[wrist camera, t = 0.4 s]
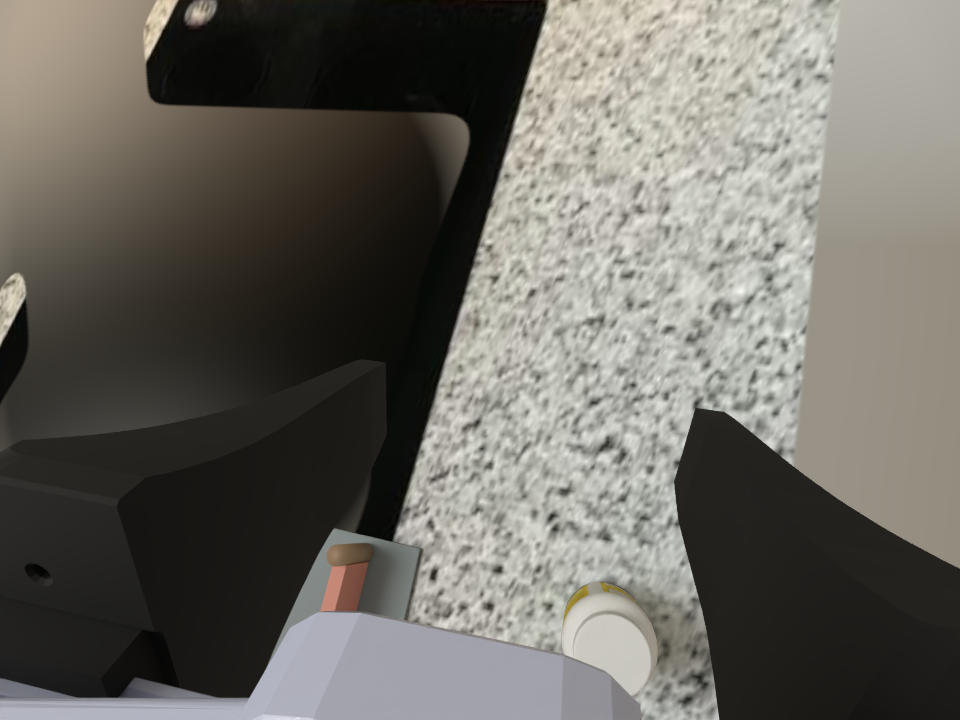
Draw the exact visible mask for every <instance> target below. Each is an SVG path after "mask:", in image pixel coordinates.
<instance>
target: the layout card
mask: <svg viewBox="0 0 960 720" xmlns="http://www.w3.org/2000/svg"><path fill="white" fill-rule="evenodd" d="M352 543H369V544H371V545H372V546H373V549H374V555H373V557H372V559H371V560H370V561H368V562H369V563H368V567H367V572H366V576H365V580H364V584H363V588H362V592H361V596H360V600H359V604H358V608H357V611H361V612H369V613H373V614H378V615H383V616H388V617H392V618H397V619H402V620H406V615H407V611H408V606H409V601H410V597H411V592H412V588H413V583H414V579H415V574H416V570H417V565H418V561H419V556H420V552H421V548H416V547H412V546H408V545H404V544H400V543H395V542H391V541H387V540H383V539H378V538H374V537H370V536H366V535H361V534H357V533H353V532H349V531H345V530H340V529H336V528H334V529H333V531H332V532H331V534H330V535H329V537H328V538H327V540H326V542H325V544H324V546H323V547H322V549H321V551H320V553H319V554H318V556H317V558H316V560H315V562H314V564H313V566H312V569H311V571H310V573H309V575H308V577H307V579H306V581H305V583H304V585H303V587H302V589H301V591H300V593H299V595H298V598H297V600H296V602H295V604H294V606H293V609H292V611H291V613H290V615H289V617H288V619H287V622H286V624H285V626H284V628H283V630H282V633H281V635H280V637H279V639H278V642H277V644H276V647H275V649H274V651H273V654H272V656H271V658H270V661H269V663H270V662H271V660H272V658H273V656H274V655H275V653H276V651H277V649H278V648H279V646H280V644H281V642H282V641H283V639H284V637H285V635H286V634H287V632H288V630H289V629H290V627H292V626H294V625H296V624H298V623H299V622H301V621H303V620H305V619H307V618H308V617H310V616H312V615H314V614H316V613H317V612H320V611H321V607H322V603H323V599H324V595H325V592H326V588H327V584H328V580H329V576H330V573H331V569H332V566H331V565H330V564H329V563H328V561H327V552H328V550H329V548H330V547H331V546H333V545H336V544H352ZM269 663H268V665H269ZM268 665H267V667H268Z"/></svg>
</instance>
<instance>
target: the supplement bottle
mask: <svg viewBox="0 0 960 720" xmlns="http://www.w3.org/2000/svg"><path fill="white" fill-rule="evenodd" d="M562 649H563V653H564V654H565V655H567V656H570V657H572V658H574V659H577V660H579V661H582V662H584V663H587V664H589V665H592V666H594V667H597V668H599V669H602V670H604V671H606V672H607V673H608V674H610V675H611V676H612V677H613V678H614V679H615V680H616V681H617V682H618V683H619V684H620V685H621V686H622V687H623V688H624V689H625V690H626V691H627V692H628V693H629V694H630V695H631V696H634V695H635V694H637V693H638V692H639V691H640V690H641V689H642V688H643V687H644V686H645V685H646V684H647V683H648V681H649V680H650V678H651V677H652V675H653V673H654V670H655V667H656V664H657V659H658V644H657V639H656V635H655V632H654V629H653V627H652V624H651V622H650V621H649V619H648V617H647V616H646V614H645V613H644V612H643V610H642V609H641V608H640V606H639V605H638V604H637V603H636V601H635V600H634V599H633V598H632V596H631V595H630V594H629V593H627V592H626V591H625V590H623V589H622V588H620V587H618V586H616V585H614V584H611V583H607V582H593V583H589V584H586V585H584V586H582V587H581V588H579V589H578V590H577V591H576V592H575V593H574V594H573V595H572V596H571V598H570V600H569V601H568V604H567V606H566V609H565V613H564V621H563V628H562Z"/></svg>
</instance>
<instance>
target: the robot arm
mask: <svg viewBox="0 0 960 720" xmlns="http://www.w3.org/2000/svg"><path fill="white" fill-rule="evenodd" d="M385 437H386V365H385V363H382V362H375V361H368V360H358V361H355V362H352V363H349V364H347V365H344V366H342V367H339V368H337V369H335V370H332V371H330V372H328V373H325V374H323V375H321V376H318V377H316V378H314V379H311V380H309V381H307V382H304V383H302V384H299V385H297V386H295V387H292V388H289V389H287V390H284V391H282V392H279V393H276V394H274V395H271V396H268V397H266V398H263V399H261V400H258V401H255V402H252V403H249V404H246V405H242V406H239V407H236V408H233V409H229V410H225V411H222V412H219V413H215V414H211V415H207V416H203V417H198V418H193V419H189V420H184V421H179V422H175V423H170V424H165V425H160V426H154V427H149V428H142V429H136V430H129V431H121V432H113V433H106V434H97V435H87V436H74V437H61V438H49V439H34V440H22V441H19V442H17V443H15V444H13V445H11V446H10V447H8V448H6V449H4V450H3V451H1V452H0V720H642V719H641V710H640V705H639V704H638V703H637V702H636V701H635V700H634V699H633V697H632V696H631V695H630V694H629V693H628V692H627V691H626V690H625V689H624V688H623V687H622V686H621V685H620V684H619V683H618V682H617V681H616V680H615V679H614V678H613V677H612V676H611V675H610V674H608V673H607V672H606V671H604V670H602V669H599V668H597V667H594V666H592V665H589V664H587V663H584V662H582V661H579V660H577V659H574V658H572V657H570V656H567V655H565V654H562V653H557V652H552V651H548V650H543V649H538V648H533V647H529V646H524V645H519V644H515V643H510V642H505V641H500V640H496V639H491V638H486V637H482V636H477V635H472V634H468V633H463V632H458V631H453V630H449V629H444V628H439V627H435V626H430V625H425V624H420V623H416V622H411V621H406V620H402V619H397V618H392V617H388V616H383V615H378V614H373V613H369V612H361V611H322V612H317V613H316V614H314V615H312V616H310V617H308V618H307V619H305V620H303V621H301V622H299V623H298V624H296V625H294V626H292V627H290V629H289V630H288V632H287V634H286V635H285V637H284V639H283V641H282V642H281V644H280V646H279V648H278V649H277V651H276V653H275V655H274V656H273V658H272V660H271V662H270V663H269V661H270V658H271V656H272V654H273V651H274V649H275V647H276V644H277V642H278V639H279V637H280V635H281V633H282V630H283V628H284V626H285V624H286V622H287V619H288V617H289V615H290V613H291V611H292V609H293V606H294V604H295V602H296V600H297V598H298V595H299V593H300V591H301V589H302V587H303V585H304V583H305V581H306V579H307V577H308V575H309V573H310V571H311V569H312V566H313V564H314V562H315V560H316V558H317V556H318V554H319V553H320V551H321V549H322V547H323V546H324V544H325V542H326V540H327V538H328V537H329V535H330V534H331V532H332V531H333V529H334V527H335V526H336V524H337V522H338V521H339V519H340V518H341V516H342V515H343V513H344V511H345V510H346V508H347V507H348V505H349V504H350V502H351V501H352V499H353V497H354V496H355V494H356V493H357V491H358V489H359V488H360V486H361V485H362V483H363V481H364V480H365V478H366V476H367V475H368V473H369V472H370V470H371V468H372V466H373V464H374V462H375V460H376V458H377V456H378V453H379V451H380V449H381V446H382V444H383V441H384V439H385ZM674 484H675V494H676V504H677V512H678V520H679V524H680V528H681V532H682V536H683V540H684V544H685V548H686V552H687V555H688V559H689V563H690V567H691V570H692V574H693V578H694V582H695V585H696V589H697V593H698V596H699V600H700V604H701V608H702V611H703V616H704V621H705V625H706V630H707V635H708V642H709V648H710V655H711V661H712V668H713V675H714V681H715V689H716V697H717V705H718V712H719V720H960V569H959V568H957V567H955V566H953V565H951V564H949V563H947V562H945V561H943V560H941V559H939V558H937V557H936V556H934V555H932V554H930V553H928V552H926V551H924V550H923V549H921V548H919V547H917V546H915V545H913V544H911V543H909V542H908V541H906V540H904V539H902V538H900V537H899V536H897V535H895V534H893V533H892V532H890V531H888V530H886V529H885V528H883V527H881V526H880V525H878V524H876V523H875V522H873V521H872V520H870V519H868V518H867V517H865V516H864V515H862V514H860V513H859V512H857V511H856V510H854V509H852V508H851V507H849V506H848V505H846V504H845V503H843V502H842V501H840V500H838V499H837V498H836V497H834V496H833V495H831V494H830V493H829V492H827V491H826V490H824V489H823V488H822V487H820V486H819V485H817V484H816V483H815V482H813V481H812V480H810V479H809V478H808V477H806V476H805V475H804V474H802V473H801V472H800V471H799V470H797V469H796V468H795V467H793V466H792V465H791V464H789V463H788V462H787V461H786V460H784V459H783V458H782V457H781V456H779V455H778V454H777V453H776V452H774V451H773V450H772V449H771V448H770V447H768V446H767V445H766V444H765V443H763V442H762V441H761V440H760V439H759V438H757V437H756V436H755V435H754V434H753V433H751V432H750V431H749V430H748V429H746V428H745V427H744V426H743V425H741V424H740V423H739V422H738V421H736V420H735V419H734V418H732V417H731V416H730V415H728V414H727V413H725V412H720V411H713V410H706V409H699V408H695V412H694V415H693V419H692V422H691V425H690V429H689V432H688V436H687V439H686V443H685V446H684V450H683V453H682V457H681V460H680V463H679V467H678V470H677V474H676V477H675V481H674ZM268 663H269V665H268ZM267 665H268V667H267Z"/></svg>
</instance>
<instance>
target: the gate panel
mask: <svg viewBox="0 0 960 720" xmlns="http://www.w3.org/2000/svg"><path fill="white" fill-rule="evenodd" d="M373 555H374V549H373V546H372V545H371V544H369V543H352V544H336V545H333V546H331V547H330V548H329V550H328V552H327V561H328V563H329V564H330V565H331V566H332V569H331V573H330V576H329V580H328V584H327V588H326V592H325V595H324V599H323V603H322V607H321V611H320V612H322V611H357V608H358V604H359V600H360V596H361V592H362V588H363V584H364V580H365V576H366V572H367V567H368V563H369V562H368V561H370V560H371V559H372V557H373Z"/></svg>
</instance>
